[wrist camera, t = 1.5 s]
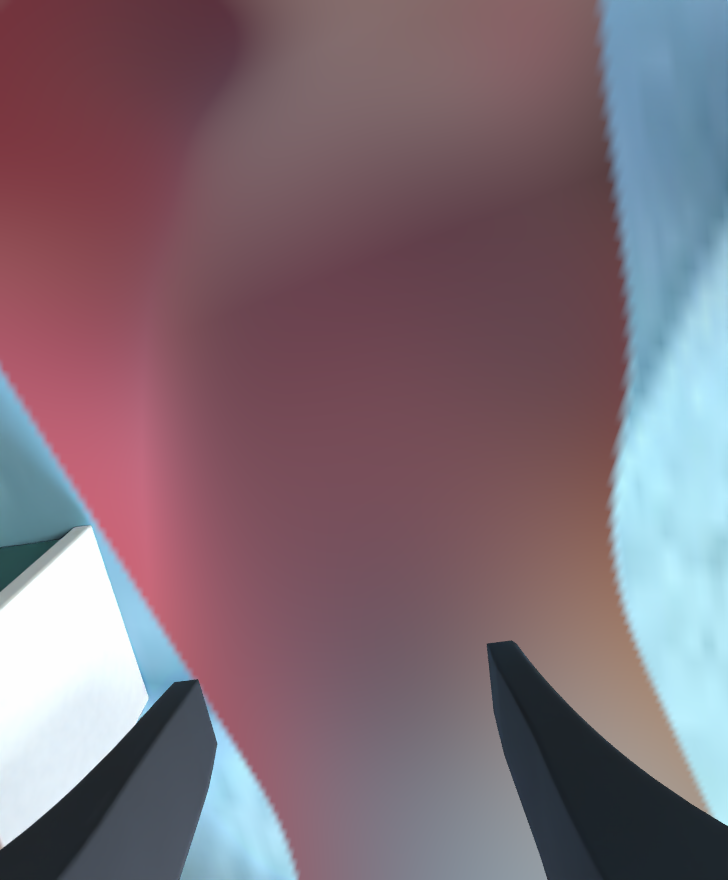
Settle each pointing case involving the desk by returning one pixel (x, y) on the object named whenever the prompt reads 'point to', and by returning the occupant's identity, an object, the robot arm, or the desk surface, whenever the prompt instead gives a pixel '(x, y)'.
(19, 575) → the green and cream block
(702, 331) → the desk surface
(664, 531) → the desk surface
